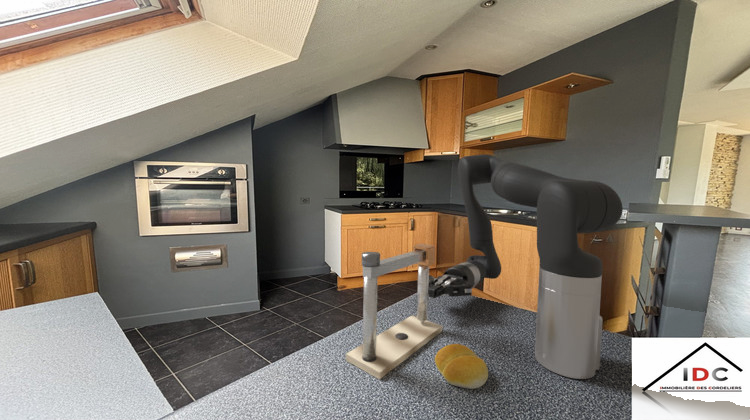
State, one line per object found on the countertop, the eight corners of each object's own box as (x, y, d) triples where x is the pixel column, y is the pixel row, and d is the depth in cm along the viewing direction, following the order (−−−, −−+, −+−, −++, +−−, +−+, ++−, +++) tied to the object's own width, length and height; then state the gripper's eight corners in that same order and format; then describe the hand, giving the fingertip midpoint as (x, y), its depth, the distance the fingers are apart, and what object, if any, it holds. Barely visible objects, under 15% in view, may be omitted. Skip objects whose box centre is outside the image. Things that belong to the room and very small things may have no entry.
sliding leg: (418, 316, 67) (420, 243, 66) (433, 322, 64) (435, 245, 63) (411, 321, 65) (412, 245, 64) (426, 326, 62) (428, 247, 61)
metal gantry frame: (421, 317, 68) (423, 238, 66) (433, 321, 65) (436, 240, 64) (356, 358, 51) (358, 253, 50) (370, 365, 49) (371, 256, 47)
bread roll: (454, 396, 44) (455, 370, 43) (428, 362, 52) (429, 341, 52) (500, 386, 46) (501, 362, 46) (468, 355, 55) (468, 335, 54)
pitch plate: (411, 320, 69) (412, 314, 69) (442, 331, 64) (442, 325, 64) (345, 360, 52) (345, 353, 52) (379, 379, 47) (379, 371, 47)
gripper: (441, 260, 84) (408, 272, 71) (486, 268, 76) (458, 284, 63) (440, 285, 85) (407, 301, 72) (485, 296, 76) (457, 317, 63)
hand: (431, 293), depth 67 cm, fingers closed
